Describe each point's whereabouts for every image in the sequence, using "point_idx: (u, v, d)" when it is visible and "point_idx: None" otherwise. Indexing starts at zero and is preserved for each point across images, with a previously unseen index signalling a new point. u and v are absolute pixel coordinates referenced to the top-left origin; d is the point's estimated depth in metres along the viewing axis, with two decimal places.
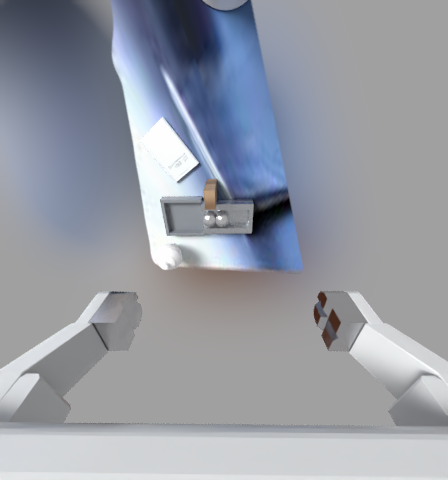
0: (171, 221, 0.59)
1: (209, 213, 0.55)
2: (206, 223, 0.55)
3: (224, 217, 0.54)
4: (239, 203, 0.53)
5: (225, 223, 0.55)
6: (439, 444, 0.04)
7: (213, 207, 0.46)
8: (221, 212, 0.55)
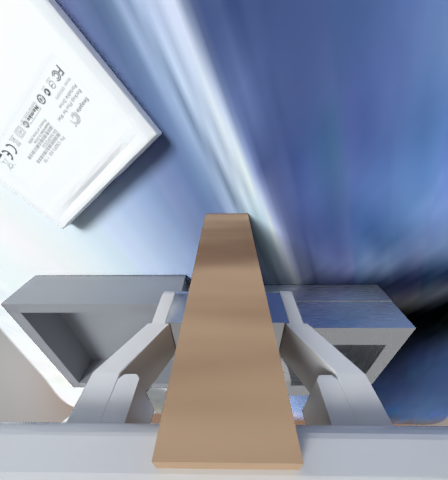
0: (87, 342, 0.18)
1: None
2: None
3: None
4: (346, 323, 0.12)
5: None
6: (439, 444, 0.04)
7: None
8: None
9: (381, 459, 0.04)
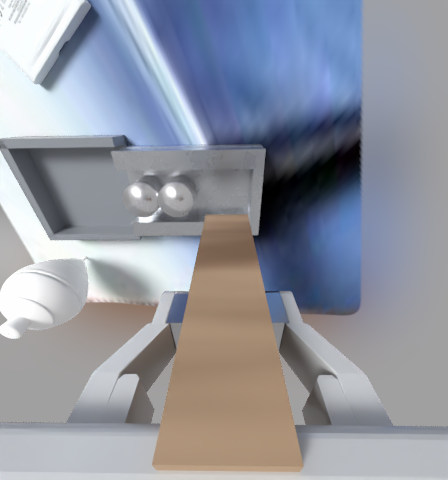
0: (59, 204, 0.24)
1: (144, 179, 0.20)
2: (134, 208, 0.20)
3: (180, 189, 0.19)
4: (222, 149, 0.18)
5: (186, 207, 0.20)
6: (439, 444, 0.04)
7: None
8: (175, 178, 0.20)
9: (381, 459, 0.04)
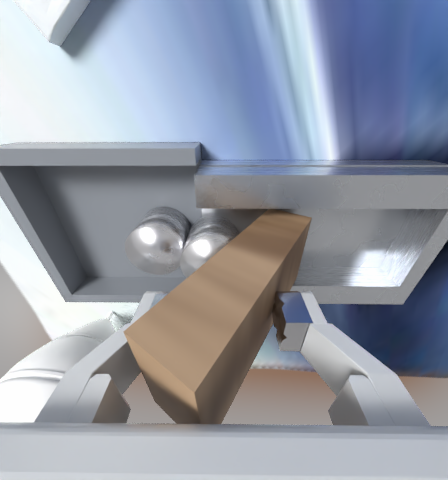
0: (81, 248, 0.15)
1: (161, 214, 0.12)
2: (144, 261, 0.12)
3: (220, 248, 0.10)
4: (404, 173, 0.10)
5: None
6: (439, 444, 0.04)
7: None
8: (207, 222, 0.12)
9: (381, 459, 0.04)
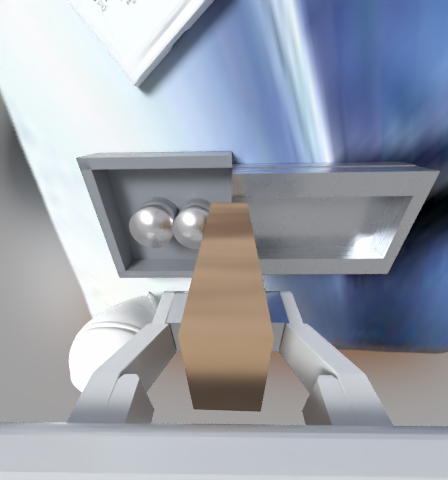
0: None
1: (157, 202, 0.16)
2: (143, 237, 0.16)
3: (199, 216, 0.15)
4: (379, 170, 0.14)
5: None
6: (439, 444, 0.04)
7: (248, 404, 0.07)
8: (191, 202, 0.17)
9: (381, 459, 0.04)
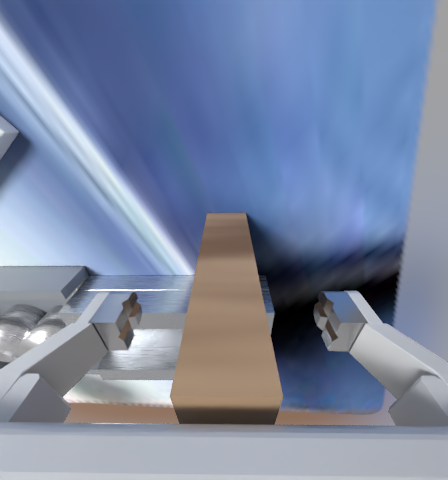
0: None
1: (10, 316, 0.16)
2: None
3: None
4: None
5: None
6: (439, 444, 0.04)
7: None
8: (48, 315, 0.16)
9: (381, 459, 0.04)
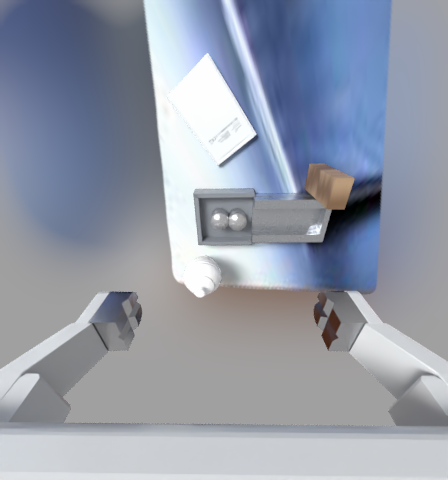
0: (205, 224, 0.41)
1: (220, 210, 0.38)
2: (215, 225, 0.38)
3: (240, 216, 0.37)
4: (311, 199, 0.35)
5: (243, 225, 0.38)
6: (439, 444, 0.04)
7: (342, 205, 0.29)
8: (235, 210, 0.38)
9: (381, 459, 0.04)
